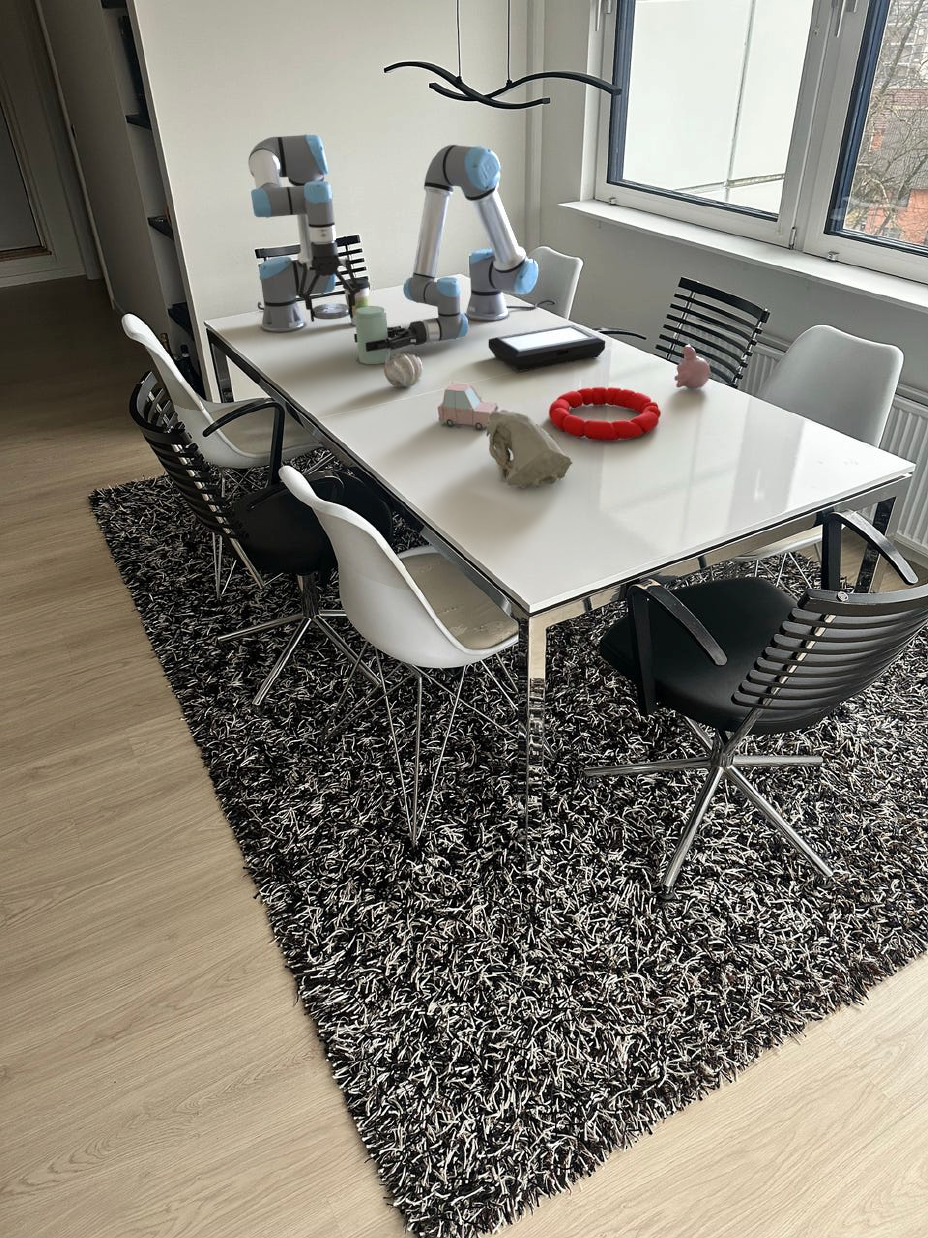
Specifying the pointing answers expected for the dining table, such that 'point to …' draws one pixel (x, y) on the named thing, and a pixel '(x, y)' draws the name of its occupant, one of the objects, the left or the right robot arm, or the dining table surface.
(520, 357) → the electronic device
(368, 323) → the jar
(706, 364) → the figurine
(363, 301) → the coffee cup
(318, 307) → the lid
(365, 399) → the dining table surface
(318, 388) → the dining table surface
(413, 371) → the seashell
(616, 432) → the decorative ring
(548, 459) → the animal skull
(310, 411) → the dining table surface
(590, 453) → the dining table surface
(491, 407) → the toy car
